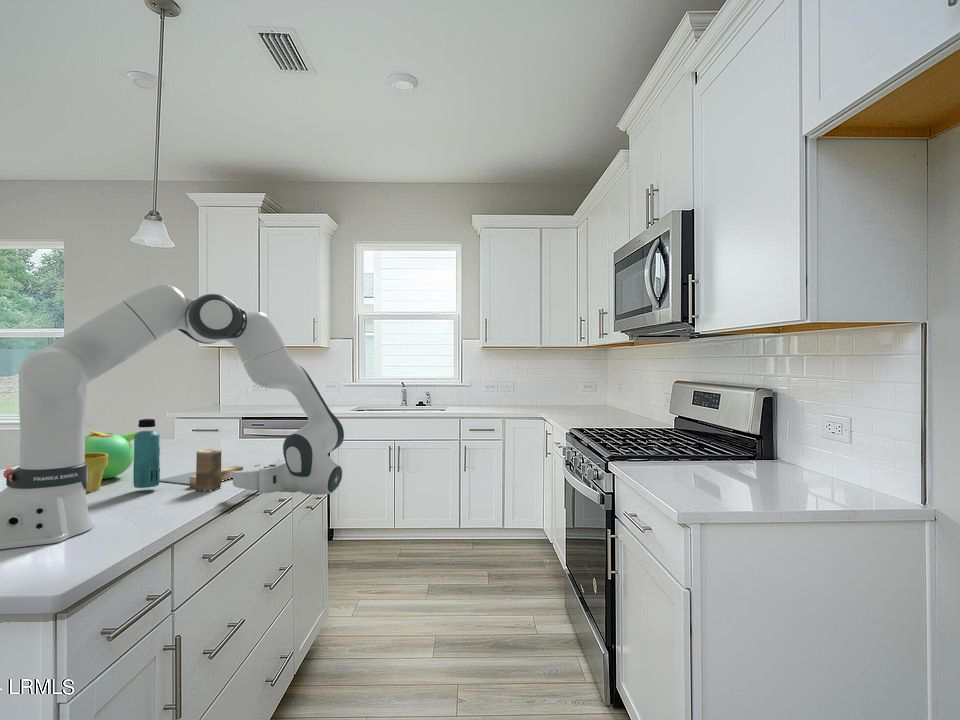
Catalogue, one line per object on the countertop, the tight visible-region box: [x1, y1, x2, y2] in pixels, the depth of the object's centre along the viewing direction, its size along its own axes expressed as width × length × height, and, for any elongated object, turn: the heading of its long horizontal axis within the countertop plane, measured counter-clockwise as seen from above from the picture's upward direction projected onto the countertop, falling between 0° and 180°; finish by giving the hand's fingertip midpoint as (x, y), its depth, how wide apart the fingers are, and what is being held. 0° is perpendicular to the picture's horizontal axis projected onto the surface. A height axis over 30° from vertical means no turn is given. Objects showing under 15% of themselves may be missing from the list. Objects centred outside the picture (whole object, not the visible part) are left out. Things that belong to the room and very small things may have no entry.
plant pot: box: [85, 453, 108, 493], centre depth 156 cm, size 10×10×10 cm
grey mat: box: [159, 471, 196, 486], centre depth 174 cm, size 14×14×1 cm
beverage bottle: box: [132, 418, 161, 489], centre depth 157 cm, size 6×7×20 cm
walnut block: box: [195, 448, 222, 492], centre depth 161 cm, size 4×4×11 cm
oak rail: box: [188, 465, 244, 488], centre depth 171 cm, size 18×3×3 cm, turn 161°
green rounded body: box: [85, 430, 139, 480], centre depth 173 cm, size 18×17×15 cm
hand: (244, 470), depth 157 cm, fingers open, 8 cm apart
